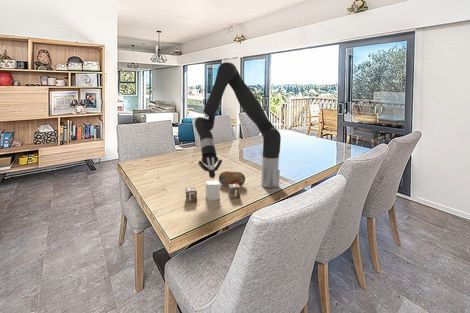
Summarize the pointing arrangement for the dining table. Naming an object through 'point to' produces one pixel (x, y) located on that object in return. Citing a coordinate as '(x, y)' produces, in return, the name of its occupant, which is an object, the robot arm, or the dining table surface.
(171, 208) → the dining table surface
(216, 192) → the plain block
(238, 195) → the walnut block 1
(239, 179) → the tin
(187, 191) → the walnut block
